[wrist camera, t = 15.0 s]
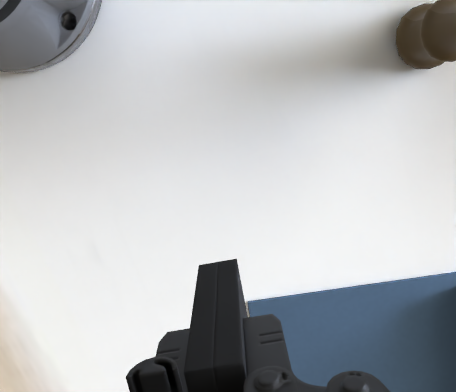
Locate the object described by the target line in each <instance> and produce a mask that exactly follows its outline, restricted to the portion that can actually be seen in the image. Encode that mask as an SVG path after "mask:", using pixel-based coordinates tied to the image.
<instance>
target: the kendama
mask: <svg viewBox="0 0 456 392" xmlns="http://www.w3.org/2000/svg"><path fill="white" fill-rule="evenodd" d="M396 46H397V50H398V54H399V56H400V57H401V59H402V60H403V61H404V63H405V64H406V65H409V66H411V67H413V68H416V69H430V68H433V67H436V66H439V65H441V64H443V63H444V62H445V61H448V62H452V61H455V60H456V0H438V1H436V2H435V3H434V4H423V5H420V6H417V7H414V8H412V9H411V10H410V11H409V12H407V13H406V14H405V15H404V16H403V17H402V18H401V20H400V23H399V25H398V27H397V31H396Z"/></svg>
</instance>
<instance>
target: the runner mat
mask: <svg viewBox="0 0 456 392" xmlns="http://www.w3.org/2000/svg"><path fill="white" fill-rule="evenodd" d="M248 307H249V314H250V317H255V316H261V315H267V314H273V315H274V316H276V317H277V318H278V319H279V320H280V321H281V325H282V329H283V334H284V338H285V342H286V347H287V351H288V355H289V360H290V364H291V368H292V371H293V373H294V375H295V376H296V377H297V378H298V379H300V380H301V381H303V382H305V383H308V384H310V385H316V386H326V387H327V384H328V382H329V381H330V380H331V378H332V377H333V376H335V375H337V374H339V373H341V372H346V371H363V372H366V373H369V374H372V375H373V376H375V377H376V378H377V379H379V380H380V381H381V382H382V383H383V384H384V385H385V386H386V387H387V389H388V390H389V391H390V392H456V272H452V273H445V274H438V275H431V276H424V277H417V278H410V279H403V280H396V281H389V282H382V283H375V284H368V285H361V286H354V287H347V288H340V289H332V290H325V291H318V292H311V293H304V294H297V295H290V296H283V297H276V298H269V299H262V300H255V301H248Z"/></svg>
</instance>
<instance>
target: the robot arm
mask: <svg viewBox="0 0 456 392" xmlns="http://www.w3.org/2000/svg"><path fill="white" fill-rule="evenodd" d="M101 2H102V0H0V71H6V72H33V71H37V70H42V69H45V68H48V67H50V66H53V65H55V64H57V63H59V62H60V61H62V60H64V59H65V58H67V57H68V56H69V55H71V54H72V53H73V52H74V51H75V50H76V49H77V48H78V47H79V46H80V45H81V44H82V43H83V42H84V40H85V39H86V37H87V36H88V35H89V33H90V31H91V29H92V28H93V26H94V23H95V21H96V19H97V16H98V13H99V10H100V6H101ZM126 379H127V383H128V387H129V390H130V392H390V391H389V390H388V389H387V387H386V386H385V385H384V384H383V383H382V382H381V381H380V380H379V379H377V378H376V377H375V376H373V375H372V374H369V373H366V372H363V371H346V372H341V373H339V374H337V375H335V376H333V377H332V378H331V380H330V381H329V382H328V384H327V387H326V386H316V385H310V384H308V383H305V382H303V381H301V380H300V379H298V378H297V377H296V376H295V375H294V373H293V371H292V368H291V364H290V360H289V355H288V351H287V347H286V342H285V338H284V334H283V329H282V325H281V321H280V320H279V319H278V318H277V317H276V316H274V315H273V314H267V315H261V316H255V317H249V318H248V317H247V312H246V306H245V301H244V296H243V291H242V285H241V280H240V275H239V270H238V264H237V259H233V260H227V261H221V262H215V263H209V264H204V265H199V269H198V276H197V283H196V290H195V297H194V303H193V310H192V317H191V324H190V329H184V330H178V331H171V332H167V333H166V335H165V336H164V337H163V338H162V339H161V341H160V342H159V345H158V349H157V354H156V356H155V357H153V358H150V359H146V360H144V361H142V362H140V363H138V364H137V365H136V366H134V367H133V368H132V369H131V370H130V371H129V373H128V374H127V376H126Z"/></svg>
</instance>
